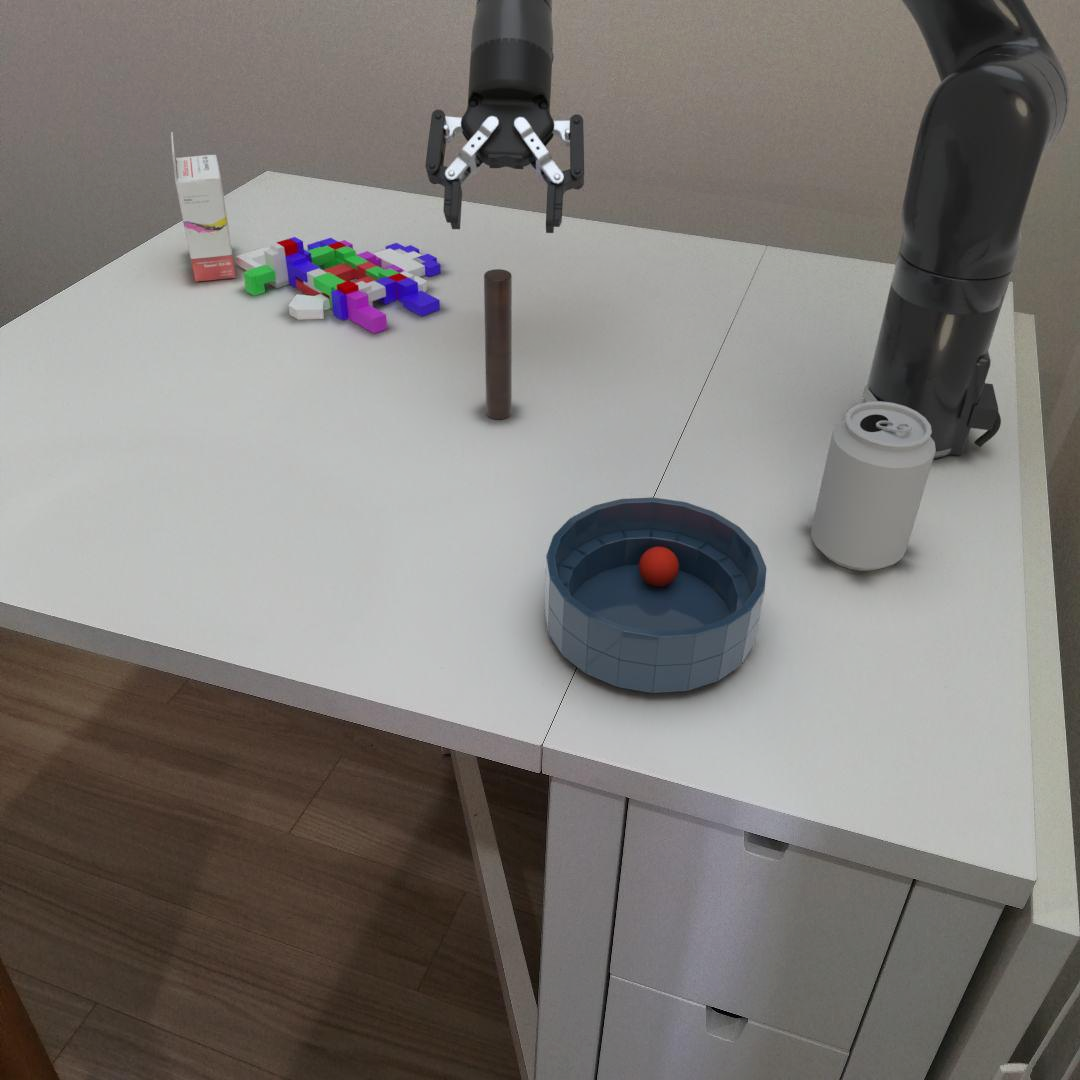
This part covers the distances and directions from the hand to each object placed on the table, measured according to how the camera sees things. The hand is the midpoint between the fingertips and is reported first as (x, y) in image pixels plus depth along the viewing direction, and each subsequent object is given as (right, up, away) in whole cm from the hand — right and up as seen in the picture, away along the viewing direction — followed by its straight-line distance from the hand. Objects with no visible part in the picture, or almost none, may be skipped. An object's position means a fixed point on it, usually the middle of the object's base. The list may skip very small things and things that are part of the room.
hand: (502, 227), depth 95 cm
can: (+29, -29, -10) cm, 42 cm away
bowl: (+11, -34, -17) cm, 40 cm away
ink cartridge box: (-35, +4, +31) cm, 47 cm away
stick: (-1, -16, +5) cm, 17 cm away
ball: (+12, -30, -16) cm, 36 cm away
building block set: (-19, +2, +28) cm, 34 cm away
